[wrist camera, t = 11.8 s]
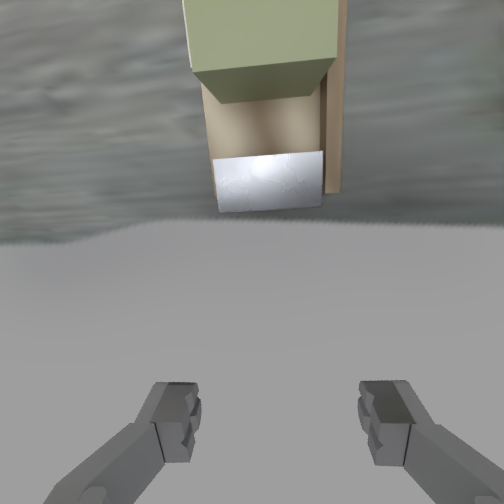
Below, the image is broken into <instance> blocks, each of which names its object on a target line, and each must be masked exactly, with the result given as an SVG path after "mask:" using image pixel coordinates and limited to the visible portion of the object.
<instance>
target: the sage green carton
mask: <svg viewBox="0 0 504 504" xmlns="http://www.w3.org/2000/svg"><path fill="white" fill-rule="evenodd" d="M338 3H339V0H182V4H183V12H184V20H185V27H186V35H187V43H188V51H189V59H190V67H191V69H192V71H193V73H194V74H195V75H196V77H197V78H198V79H199V80H200V81H201V82H202V83H203V84H204V86H205V87H206V88H207V89H208V90H209V91H210V92H211V93H212V95H213V96H214V97H215V98H216V99H217V100H218V101H219V102H220V104H228V103H239V102H250V101H260V100H271V99H282V98H292V97H303V96H311V94H312V93H313V91H314V90H315V88H316V87H317V85H318V84H319V83H320V81H321V80H322V78H323V77H324V75H325V74H326V72H327V71H328V69H329V68H330V67H331V65H332V64H333V62H334V61H335V59H336V58H337V37H338Z"/></svg>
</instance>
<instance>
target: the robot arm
mask: <svg viewBox="0 0 504 504" xmlns="http://www.w3.org/2000/svg"><path fill="white" fill-rule="evenodd" d="M198 391H199V389H198V385H197V383H190V382H187V383H186V382H156V383H155V384H154V385H153V387H152V389H151V391H150V393H149V395H148V397H147V399H146V400H145V403H144V404H143V407H142V409H141V410H140V412H139V414H138V416H137V418H136V420H135V422H134V423H130V424H129V425H127V426H126V427H125V428H123V429H122V430H121V431H120V432H119V433H117V434H116V435H115V436H114V437H112V438H111V439H110V440H109V441H108V442H106V443H105V444H104V445H103V446H102V447H100V448H99V449H98V450H97V451H95V452H94V453H93V454H92V455H91V456H90V457H88V458H87V459H86V460H85V461H83V462H82V463H81V464H80V465H79V466H77V467H76V468H75V469H74V470H72V471H71V472H70V473H69V474H68V475H66V476H65V477H64V478H63V479H61V480H60V481H59V482H58V483H57V484H56V485H55V486H54V488H53V490H52V491H51V493H50V494H49V496H48V497H47V499H46V500H45V502H44V503H43V504H133V503H134V502H135V501H136V499H137V498H138V497H139V496H140V495H141V494H142V492H143V491H144V490H145V488H146V487H147V486H148V485H149V484H150V482H151V481H152V480H153V479H154V477H155V476H156V475H157V473H158V472H159V471H160V470H161V469H162V467H163V466H164V465H165V463H175V462H190V459H191V456H192V452H193V448H194V444H195V438H194V433H195V432H196V431H197V430H198V429H199V425H200V419H201V400H200V399H199V398H198V397H197V394H198ZM359 391H360V394H361V397H360V398H359V399H358V414H359V419H360V423H361V425H362V429H363V430H364V431H365V432H366V433H367V434H368V446H369V449H370V452H371V455H372V457H373V460H374V463H375V465H380V466H401V467H404V469H405V470H406V471H407V472H408V474H409V475H410V476H411V477H412V478H413V479H414V480H415V481H416V482H417V483H418V484H419V486H420V487H421V488H422V489H423V490H424V491H425V492H426V493H427V494H428V495H429V497H430V498H431V499H432V500H433V501H434V502H435V503H436V504H504V470H502V469H501V468H499V467H498V466H497V465H495V464H494V463H493V462H491V461H490V460H489V459H487V458H486V457H484V456H483V455H482V454H480V453H479V452H477V451H476V450H475V449H473V448H472V447H471V446H469V445H468V444H466V443H465V442H463V441H462V440H461V439H459V438H458V437H457V436H455V435H454V434H452V433H451V432H450V431H448V430H447V429H446V428H444V427H443V426H441V425H437V424H435V423H434V422H433V420H432V419H431V417H430V416H429V414H428V412H427V411H426V409H425V408H424V406H423V404H422V403H421V401H420V400H419V398H418V396H417V395H416V393H415V392H414V390H413V389H412V387H411V385H410V384H409V382H407V381H405V380H395V381H393V380H391V381H361V382H360V384H359Z"/></svg>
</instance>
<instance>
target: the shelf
mask: <svg viewBox="0 0 504 504" xmlns="http://www.w3.org/2000/svg"><path fill="white" fill-rule="evenodd" d="M346 24H347V0H339V3H338V37H337V58H336V59H335V61H334V62H333V64H332V65H331V67H330V68H329V69H328V71H327V72H326V74H325V75H324V77H323V78H322V80H321V81H320V83H319V84H318V85H317V87H316V88H315V90H314V91H313V93H312V94H311V96H303V97H292V98H282V99H271V100H260V101H250V102H239V103H228V104H220V102H219V101H218V100H217V99H216V98H215V97H214V96H213V95H212V93H211V92H210V91H209V90H208V89H207V88H206V87H205V86H204V84H203V83H202V82H201V87H202V95H203V104H204V112H205V121H206V129H207V138H208V146H209V155H210V163H211V172H212V180H213V188H214V197H217V192H216V184H215V175H214V166H213V159H225V158H238V157H251V156H264V155H277V154H290V153H303V152H316V151H323V175H322V192H323V193H325V194H332V193H340V182H341V155H342V129H343V103H344V77H345V50H346Z"/></svg>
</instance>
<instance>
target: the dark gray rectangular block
mask: <svg viewBox="0 0 504 504" xmlns="http://www.w3.org/2000/svg"><path fill="white" fill-rule="evenodd" d="M213 166H214V175H215V184H216V192H217V201H218V210H219V213H228V212H244V211H261V210H277V209H294V208H310V207H322V175H323V151H316V152H303V153H290V154H277V155H264V156H251V157H238V158H225V159H213Z"/></svg>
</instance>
